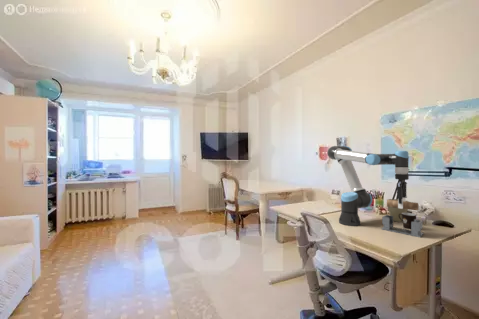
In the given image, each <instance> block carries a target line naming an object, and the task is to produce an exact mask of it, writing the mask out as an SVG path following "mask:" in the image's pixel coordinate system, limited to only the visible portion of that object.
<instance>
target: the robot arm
mask: <svg viewBox="0 0 479 319" xmlns="http://www.w3.org/2000/svg"><path fill="white" fill-rule="evenodd" d="M327 156H328V158H330V159H331V160H334V161H335V160H337V163H338V165H339V164H340V165H341V168H342V171H343V173H344V175H345V179H346V180H347V183H348V185H349V189H350V191H347V192H343V193H342V194H341V198H340V204H341V205H340V206H341V208H340V209H341V210H340V211H341V212H340V215H339V217H338V223H339V224H341V225H344V226H349V227H350V226H351V227H353V226H354V227H355V226H356V227H358V226H361V219H360V216H359V209H366V208H368V207H370V206H371V205H372V203H373V197H372V194H370V193H369V192H368V191H367V190H366V189H365V188H364V187H363V186H362V183H361V181H360V178H359V176H358V174H357V171H356V169H355V167H354V164H353V162H357V163H362V164H368V165H369V166H379V165H394V167H395V168H394V178H395V179H394V180H398V181H397V183H396V198H395V199H398V208H401V209H403V201H405V202H406V201H407V200H406V199H407V198H408V196H407V184H408V183H407V181H408V180H409V179H410V178H409V175H410V174H409V171H410V168H409V158H410V157H409V151H408V150H396V151H395V152H394V153H371V152H370V153H369V152H364V151H363V152H362V151H355V150H352V148H351V147H349V146H347V145H334V146H330V147H329V148H328V150H327ZM406 180H407V181H406Z"/></svg>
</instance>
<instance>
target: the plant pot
mask: <svg viewBox="0 0 479 319" xmlns="http://www.w3.org/2000/svg"><path fill="white" fill-rule="evenodd" d="M387 200H396V201H398V199H397V198H392V199H391V198H388V199H387ZM406 202H410V201H408V200H406ZM387 208H388V211H389V212H388V213H389V215H390V216H393V222H398V223H403V221H402V220H401V219H402V215H401V214H402V213H408V211H409V209H401V208H393V207H387ZM399 214H400V218H401V219H400V218H399Z"/></svg>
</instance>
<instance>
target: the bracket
mask: <svg viewBox="0 0 479 319" xmlns="http://www.w3.org/2000/svg"><path fill="white" fill-rule="evenodd" d="M381 220H382V222H381V223H382V225H383V227H381V230H382V231H387V232H391V233H398V234H402V235H406V236H412V237H417V238H421V237H423V236H424V232H422V230H423V227H424V226H423V222H424V221H423V220H421V219H416V220H414V222H411V229H406V228H399V227H394V221H393V216H390V214H385V215H383V216H382V218H381Z"/></svg>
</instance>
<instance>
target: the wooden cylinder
mask: <svg viewBox="0 0 479 319" xmlns="http://www.w3.org/2000/svg"><path fill="white" fill-rule="evenodd" d="M386 206H387V208H388V207H393V208H398V201H396V200H388V199H386ZM419 207H420V206H419V202H415V201H414V202H413V201H409V202H405V201H403V209H408V211H409V210H411V211H419V209H420V208H419Z"/></svg>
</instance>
